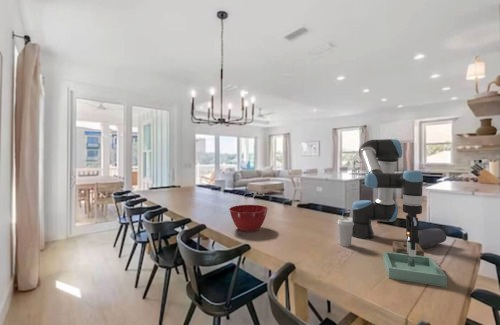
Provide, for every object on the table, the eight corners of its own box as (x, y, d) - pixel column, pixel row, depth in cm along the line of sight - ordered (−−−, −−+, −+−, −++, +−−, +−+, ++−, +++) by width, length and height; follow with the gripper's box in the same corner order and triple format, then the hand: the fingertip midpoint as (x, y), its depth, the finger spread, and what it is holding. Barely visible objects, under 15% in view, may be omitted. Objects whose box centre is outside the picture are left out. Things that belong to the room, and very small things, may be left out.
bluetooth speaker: (431, 241, 159) (431, 225, 159) (447, 246, 150) (447, 229, 150) (405, 246, 151) (405, 229, 151) (420, 251, 142) (421, 234, 142)
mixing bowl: (222, 232, 178) (222, 210, 178) (239, 222, 205) (239, 203, 204) (260, 237, 168) (260, 213, 167) (272, 225, 194) (272, 205, 194)
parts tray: (388, 278, 111) (388, 268, 111) (382, 259, 131) (383, 251, 131) (446, 287, 104) (446, 276, 104) (431, 266, 123) (431, 257, 123)
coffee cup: (353, 243, 156) (353, 218, 156) (354, 248, 147) (354, 222, 147) (336, 241, 159) (337, 217, 159) (336, 246, 150) (337, 221, 150)
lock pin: (407, 266, 116) (407, 233, 116) (405, 263, 120) (405, 231, 119) (417, 267, 115) (418, 234, 114) (415, 264, 118) (415, 232, 118)
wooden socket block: (396, 259, 131) (396, 248, 131) (392, 251, 142) (392, 241, 142) (423, 263, 127) (424, 251, 126) (417, 254, 138) (418, 243, 138)
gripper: (426, 208, 108) (425, 262, 108) (417, 201, 123) (416, 249, 123) (406, 206, 110) (405, 260, 111) (399, 200, 125) (398, 247, 126)
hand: (411, 254), depth 117 cm, fingers closed on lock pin, 3 cm apart
